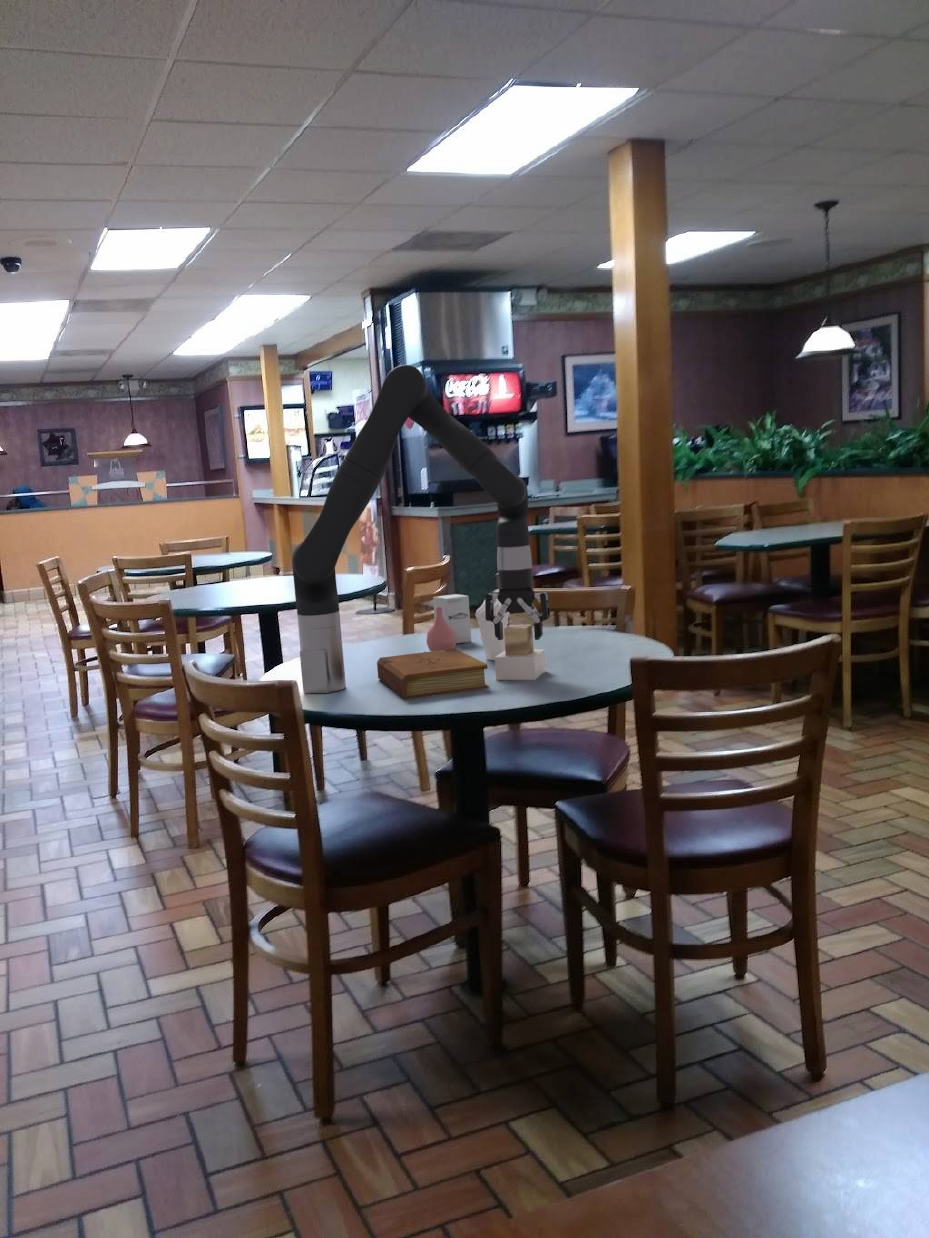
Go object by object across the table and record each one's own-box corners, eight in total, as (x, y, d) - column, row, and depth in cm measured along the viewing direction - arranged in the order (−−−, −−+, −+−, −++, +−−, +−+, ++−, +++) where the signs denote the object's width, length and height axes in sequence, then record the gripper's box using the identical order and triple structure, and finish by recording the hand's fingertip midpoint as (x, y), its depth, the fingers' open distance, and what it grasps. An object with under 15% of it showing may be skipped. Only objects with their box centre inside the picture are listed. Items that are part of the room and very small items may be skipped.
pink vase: (459, 650, 263) (455, 604, 261) (455, 656, 256) (452, 608, 254) (429, 652, 264) (426, 606, 262) (425, 657, 256) (421, 610, 255)
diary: (378, 682, 233) (376, 658, 232) (456, 672, 238) (454, 648, 238) (404, 701, 211) (401, 674, 210) (489, 690, 217) (487, 663, 216)
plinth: (535, 679, 221) (534, 657, 221) (496, 679, 224) (494, 657, 224) (546, 671, 230) (544, 649, 229) (507, 671, 233) (506, 649, 232)
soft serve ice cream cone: (512, 660, 245) (508, 594, 242) (478, 663, 245) (473, 596, 242) (512, 654, 253) (508, 590, 250) (478, 656, 253) (474, 592, 251)
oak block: (527, 655, 223) (525, 628, 222) (505, 655, 225) (503, 628, 224) (533, 651, 228) (532, 624, 227) (512, 651, 230) (510, 624, 229)
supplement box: (448, 645, 272) (444, 598, 270) (435, 642, 278) (432, 596, 276) (472, 641, 275) (469, 595, 273) (459, 638, 282) (456, 593, 280)
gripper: (478, 569, 222) (483, 642, 225) (541, 567, 218) (546, 642, 220) (488, 565, 229) (493, 636, 232) (550, 563, 225) (554, 636, 227)
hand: (519, 639), depth 226 cm, fingers open, 8 cm apart
